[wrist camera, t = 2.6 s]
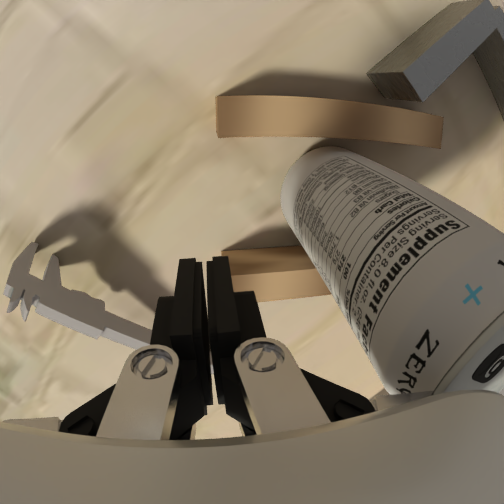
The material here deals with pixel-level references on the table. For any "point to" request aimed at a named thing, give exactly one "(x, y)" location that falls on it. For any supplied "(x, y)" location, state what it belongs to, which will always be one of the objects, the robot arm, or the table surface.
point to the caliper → (68, 304)
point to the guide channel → (308, 125)
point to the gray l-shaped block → (445, 52)
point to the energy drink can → (403, 271)
